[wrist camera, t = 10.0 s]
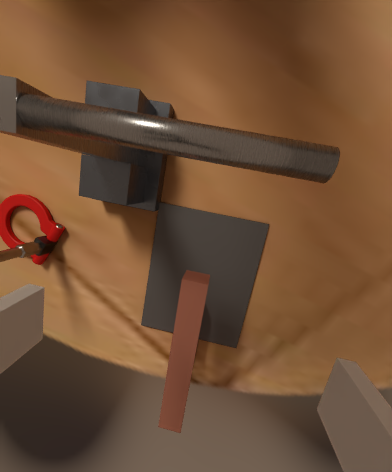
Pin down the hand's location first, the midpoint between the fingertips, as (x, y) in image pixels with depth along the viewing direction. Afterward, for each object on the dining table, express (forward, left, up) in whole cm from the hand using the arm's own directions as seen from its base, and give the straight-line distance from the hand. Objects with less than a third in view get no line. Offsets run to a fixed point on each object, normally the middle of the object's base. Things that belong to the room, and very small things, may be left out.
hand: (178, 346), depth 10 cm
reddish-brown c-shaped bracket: (+1, 0, -15) cm, 15 cm away
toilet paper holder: (-9, -5, -20) cm, 22 cm away
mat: (+5, 0, -20) cm, 20 cm away
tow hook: (+3, -25, -20) cm, 32 cm away
